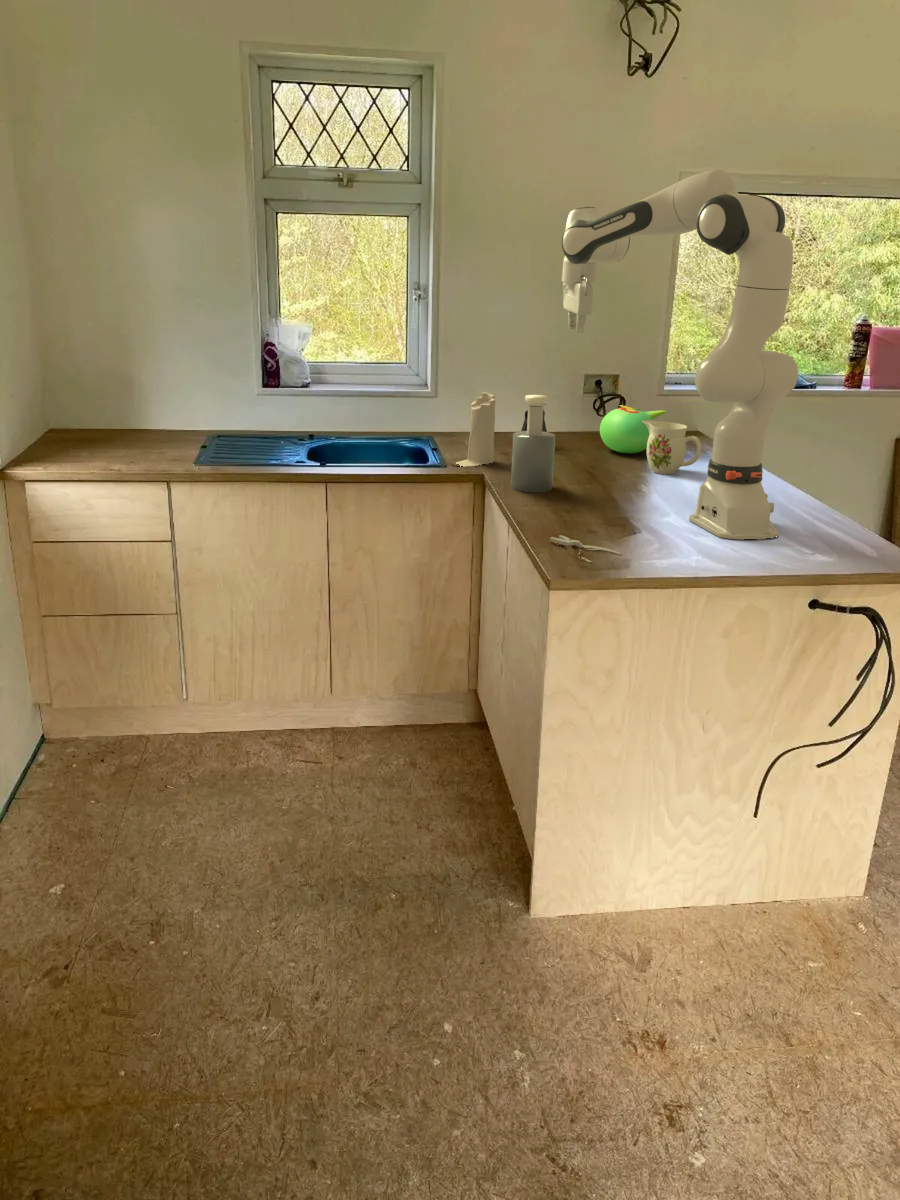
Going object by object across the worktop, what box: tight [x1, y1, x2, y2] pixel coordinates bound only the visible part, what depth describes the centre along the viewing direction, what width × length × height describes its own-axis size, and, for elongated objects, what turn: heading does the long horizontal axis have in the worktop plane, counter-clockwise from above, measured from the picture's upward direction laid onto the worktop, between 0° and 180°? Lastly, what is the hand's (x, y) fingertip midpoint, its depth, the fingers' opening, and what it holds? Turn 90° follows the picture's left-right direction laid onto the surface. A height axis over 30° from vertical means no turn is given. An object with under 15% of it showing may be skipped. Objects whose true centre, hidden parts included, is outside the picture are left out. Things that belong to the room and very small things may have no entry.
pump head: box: [524, 394, 548, 407], centre depth 240 cm, size 6×6×9 cm
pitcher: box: [642, 420, 702, 475], centre depth 263 cm, size 11×18×14 cm, turn 58°
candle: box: [455, 391, 496, 468], centre depth 268 cm, size 7×14×20 cm, turn 130°
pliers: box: [549, 534, 622, 563], centre depth 197 cm, size 10×2×15 cm
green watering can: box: [599, 404, 667, 455], centre depth 287 cm, size 18×17×15 cm
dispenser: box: [510, 405, 556, 493], centre depth 243 cm, size 11×11×22 cm
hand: (575, 330), depth 245 cm, fingers open, 8 cm apart
